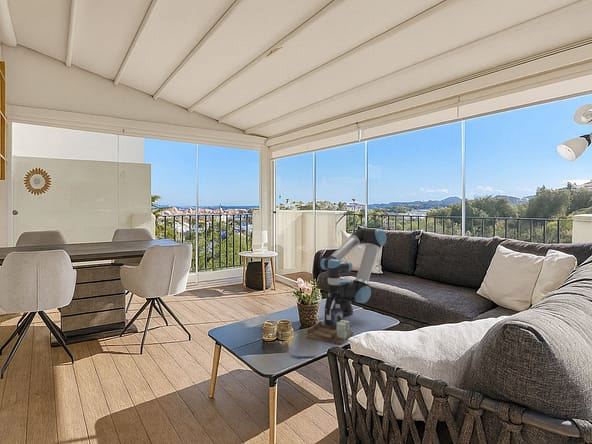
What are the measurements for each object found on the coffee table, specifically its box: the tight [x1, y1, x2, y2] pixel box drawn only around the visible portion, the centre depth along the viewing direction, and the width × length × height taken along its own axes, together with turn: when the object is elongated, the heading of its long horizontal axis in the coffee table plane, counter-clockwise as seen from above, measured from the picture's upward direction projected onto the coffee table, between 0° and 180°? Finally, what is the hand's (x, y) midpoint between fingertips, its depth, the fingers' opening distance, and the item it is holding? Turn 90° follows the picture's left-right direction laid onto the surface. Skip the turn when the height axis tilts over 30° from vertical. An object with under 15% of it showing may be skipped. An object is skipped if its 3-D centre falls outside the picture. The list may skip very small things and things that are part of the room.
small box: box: [323, 308, 344, 327], centre depth 229 cm, size 11×6×10 cm, turn 112°
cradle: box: [306, 319, 354, 345], centre depth 213 cm, size 18×22×10 cm
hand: (333, 316), depth 229 cm, fingers open, 13 cm apart
